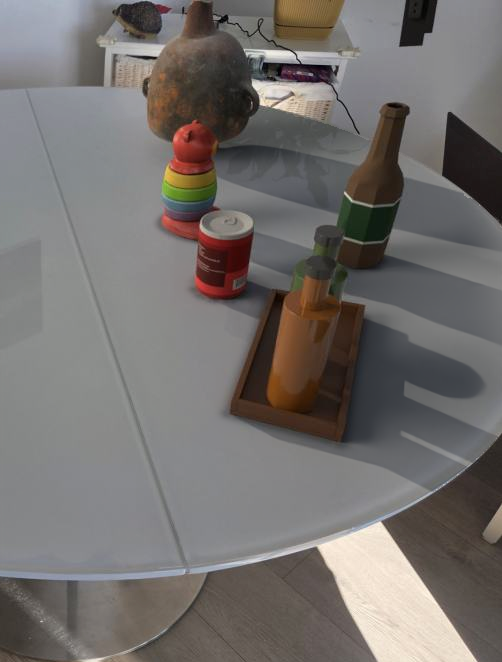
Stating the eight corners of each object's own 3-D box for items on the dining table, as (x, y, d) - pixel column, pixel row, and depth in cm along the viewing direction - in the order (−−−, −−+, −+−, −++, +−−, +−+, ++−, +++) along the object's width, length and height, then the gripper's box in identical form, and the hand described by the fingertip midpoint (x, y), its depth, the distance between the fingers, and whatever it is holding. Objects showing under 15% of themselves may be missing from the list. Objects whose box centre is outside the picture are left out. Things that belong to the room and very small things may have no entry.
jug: (250, 130, 146) (270, -18, 127) (252, 169, 130) (274, 6, 111) (143, 129, 151) (147, -13, 133) (132, 167, 135) (134, 11, 116)
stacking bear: (204, 242, 109) (214, 141, 98) (150, 231, 113) (153, 132, 102) (226, 215, 116) (237, 117, 105) (174, 205, 120) (179, 110, 109)
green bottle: (326, 354, 83) (361, 222, 71) (320, 382, 79) (356, 247, 67) (280, 344, 86) (306, 215, 74) (272, 371, 82) (298, 239, 70)
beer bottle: (355, 275, 98) (397, 119, 83) (319, 253, 104) (352, 103, 89) (394, 261, 100) (442, 107, 85) (356, 240, 106) (394, 92, 91)
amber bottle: (319, 388, 79) (354, 253, 67) (312, 419, 75) (348, 282, 63) (270, 377, 81) (296, 244, 69) (261, 406, 77) (287, 272, 65)
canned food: (245, 273, 101) (254, 210, 94) (246, 302, 95) (255, 237, 88) (195, 270, 102) (201, 208, 95) (193, 298, 96) (198, 234, 89)
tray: (361, 316, 90) (365, 304, 89) (340, 442, 72) (344, 429, 71) (269, 299, 95) (271, 287, 93) (229, 413, 77) (230, 401, 76)
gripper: (421, -137, 90) (397, 30, 100) (398, -151, 72) (372, 53, 82) (485, -148, 86) (453, 26, 96) (477, -167, 68) (439, 50, 78)
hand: (416, 39), depth 89 cm, fingers open, 13 cm apart
